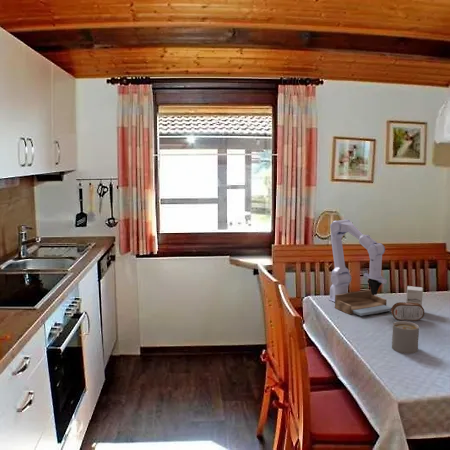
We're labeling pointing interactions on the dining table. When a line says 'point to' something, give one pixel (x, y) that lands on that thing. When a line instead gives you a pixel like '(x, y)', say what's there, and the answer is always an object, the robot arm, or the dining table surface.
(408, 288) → the supplement box
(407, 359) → the dining table surface
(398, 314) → the tin
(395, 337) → the coffee mug
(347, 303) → the wooden tray
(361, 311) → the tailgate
